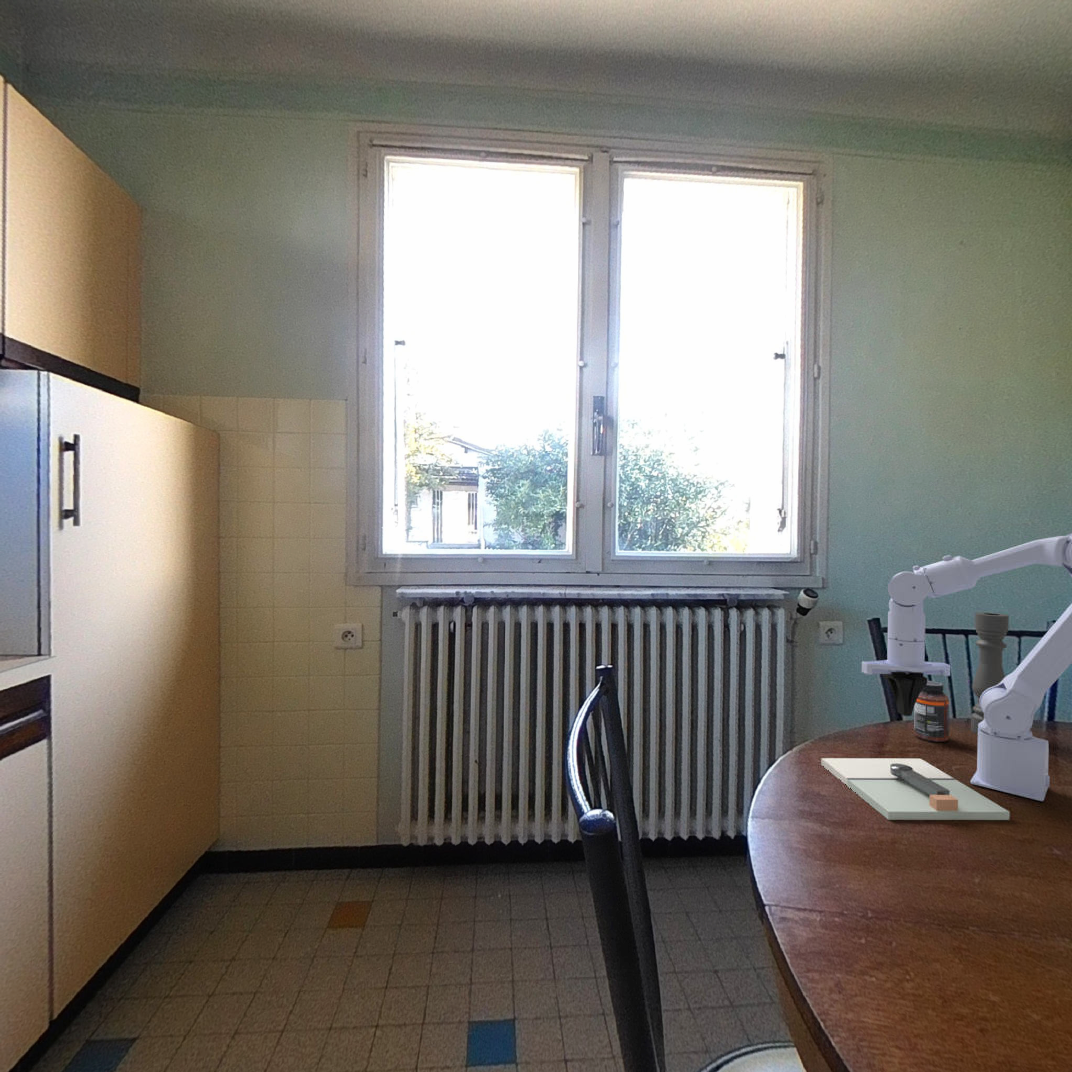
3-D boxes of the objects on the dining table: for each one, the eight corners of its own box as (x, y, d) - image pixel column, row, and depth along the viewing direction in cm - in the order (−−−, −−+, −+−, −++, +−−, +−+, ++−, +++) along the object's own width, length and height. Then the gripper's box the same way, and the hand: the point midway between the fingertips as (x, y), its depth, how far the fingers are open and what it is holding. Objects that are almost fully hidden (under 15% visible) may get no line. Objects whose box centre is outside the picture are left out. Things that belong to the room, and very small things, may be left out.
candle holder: (1000, 730, 130) (1003, 613, 129) (1012, 739, 124) (1015, 617, 124) (966, 726, 132) (969, 611, 131) (976, 736, 126) (979, 615, 126)
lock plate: (920, 765, 111) (920, 749, 110) (1009, 819, 90) (1009, 801, 90) (821, 764, 110) (821, 749, 110) (888, 819, 90) (888, 800, 90)
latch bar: (885, 770, 103) (886, 763, 103) (903, 770, 103) (903, 763, 103) (933, 799, 92) (933, 791, 92) (953, 798, 93) (953, 790, 93)
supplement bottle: (938, 733, 128) (939, 679, 127) (955, 743, 122) (956, 687, 122) (908, 732, 128) (909, 678, 128) (923, 742, 122) (924, 686, 122)
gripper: (876, 642, 106) (874, 720, 106) (962, 643, 105) (960, 722, 106) (856, 635, 113) (855, 708, 113) (936, 636, 112) (935, 709, 113)
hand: (904, 714), depth 110 cm, fingers closed
